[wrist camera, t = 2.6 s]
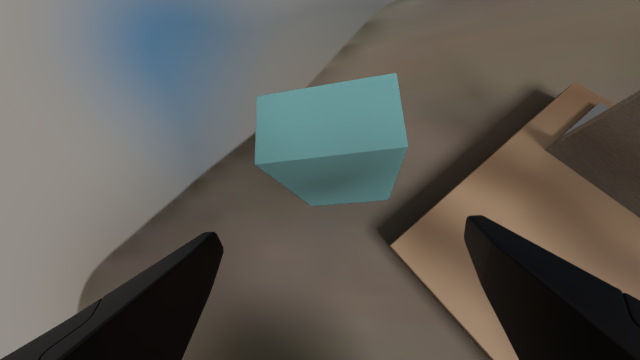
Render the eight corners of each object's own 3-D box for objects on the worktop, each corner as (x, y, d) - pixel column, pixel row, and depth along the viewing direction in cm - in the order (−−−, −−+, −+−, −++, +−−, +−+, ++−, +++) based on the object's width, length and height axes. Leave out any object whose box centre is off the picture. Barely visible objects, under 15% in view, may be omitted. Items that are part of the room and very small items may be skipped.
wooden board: (591, 471, 14) (627, 506, 12) (388, 246, 19) (390, 245, 17) (812, 259, 14) (879, 261, 12) (555, 97, 20) (575, 81, 18)
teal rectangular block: (388, 199, 20) (408, 146, 10) (310, 206, 21) (253, 164, 11) (383, 160, 21) (396, 72, 11) (309, 168, 22) (255, 96, 12)
